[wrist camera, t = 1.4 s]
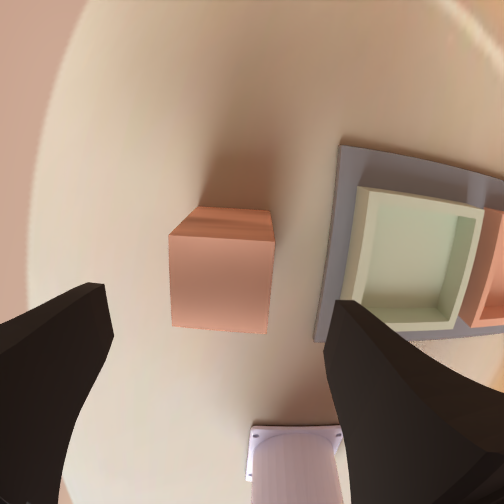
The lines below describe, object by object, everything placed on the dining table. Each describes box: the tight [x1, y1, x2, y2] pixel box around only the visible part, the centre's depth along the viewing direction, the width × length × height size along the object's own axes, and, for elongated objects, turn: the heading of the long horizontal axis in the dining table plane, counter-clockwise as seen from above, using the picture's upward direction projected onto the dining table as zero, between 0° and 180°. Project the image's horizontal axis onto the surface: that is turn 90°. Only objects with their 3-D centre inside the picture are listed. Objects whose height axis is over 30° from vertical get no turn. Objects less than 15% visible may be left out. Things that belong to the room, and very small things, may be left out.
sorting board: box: [313, 145, 504, 342], centre depth 17 cm, size 12×20×3 cm, turn 86°
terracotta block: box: [169, 207, 275, 334], centre depth 15 cm, size 4×4×6 cm
